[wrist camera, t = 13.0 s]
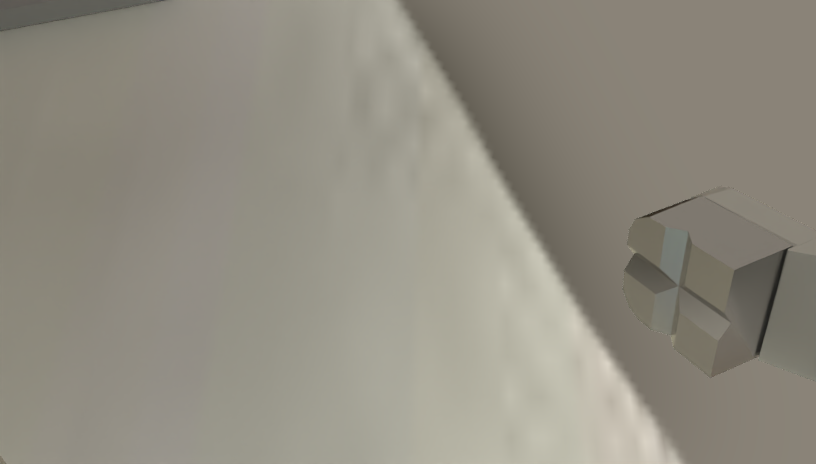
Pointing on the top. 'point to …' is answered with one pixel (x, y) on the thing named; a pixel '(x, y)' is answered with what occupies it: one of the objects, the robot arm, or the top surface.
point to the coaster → (55, 10)
